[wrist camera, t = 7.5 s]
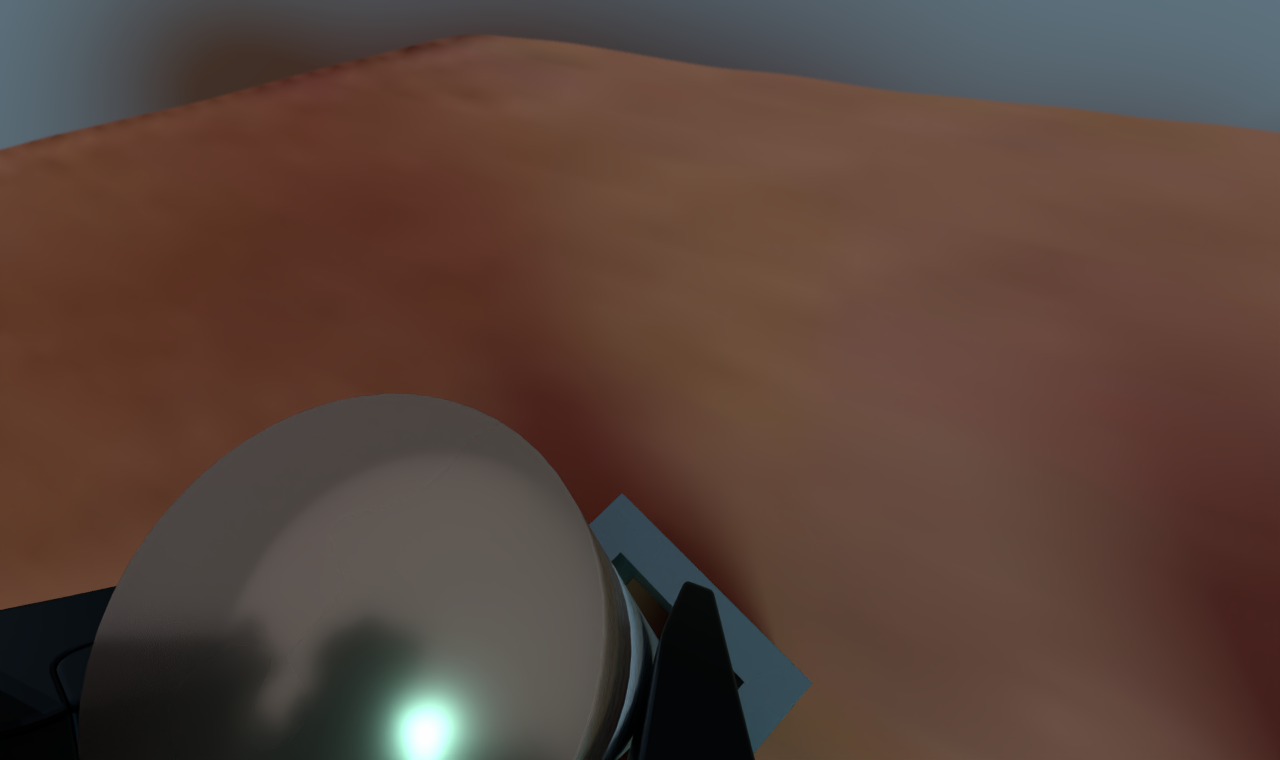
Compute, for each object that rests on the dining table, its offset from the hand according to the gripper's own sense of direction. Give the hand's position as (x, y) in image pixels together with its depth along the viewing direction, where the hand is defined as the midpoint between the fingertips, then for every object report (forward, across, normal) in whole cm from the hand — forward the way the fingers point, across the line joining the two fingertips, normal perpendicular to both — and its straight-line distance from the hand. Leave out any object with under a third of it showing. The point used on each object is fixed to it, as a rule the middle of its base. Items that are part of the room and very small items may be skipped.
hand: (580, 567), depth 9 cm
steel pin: (+4, 0, +6) cm, 7 cm away
